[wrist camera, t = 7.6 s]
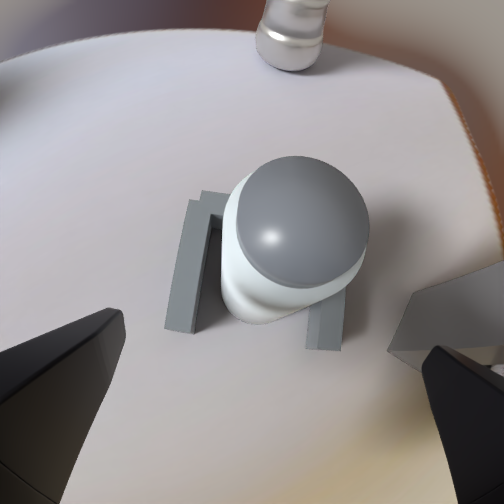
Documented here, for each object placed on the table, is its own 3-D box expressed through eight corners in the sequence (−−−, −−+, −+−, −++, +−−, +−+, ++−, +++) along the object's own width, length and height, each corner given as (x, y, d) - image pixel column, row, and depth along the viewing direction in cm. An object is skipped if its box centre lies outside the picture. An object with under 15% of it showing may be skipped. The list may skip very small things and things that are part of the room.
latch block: (451, 391, 19) (567, 396, 8) (387, 350, 20) (519, 343, 8) (471, 338, 21) (583, 319, 9) (413, 293, 21) (534, 247, 10)
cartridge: (306, 302, 20) (406, 248, 9) (243, 337, 19) (277, 330, 8) (271, 241, 21) (325, 130, 10) (208, 273, 20) (195, 179, 9)
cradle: (326, 350, 19) (340, 350, 17) (171, 330, 19) (164, 328, 16) (335, 228, 22) (348, 215, 20) (194, 205, 21) (191, 188, 19)
